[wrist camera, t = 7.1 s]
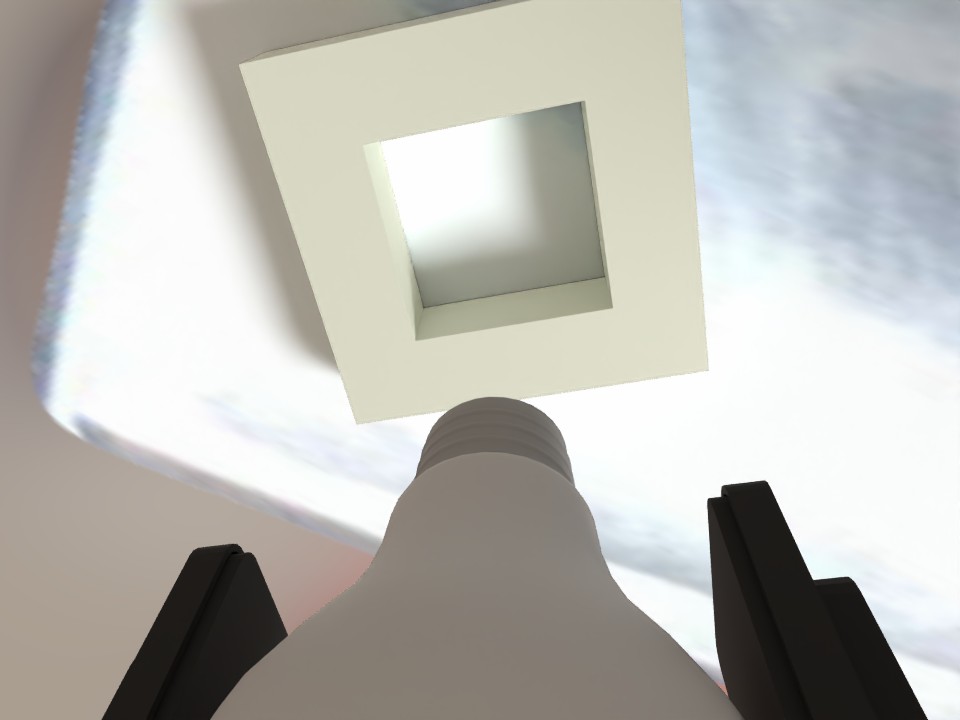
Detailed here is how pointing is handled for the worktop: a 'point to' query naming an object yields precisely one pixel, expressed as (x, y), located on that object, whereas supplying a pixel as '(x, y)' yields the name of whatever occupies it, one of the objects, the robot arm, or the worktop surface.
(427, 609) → the lightbulb
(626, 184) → the socket block
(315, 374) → the worktop surface
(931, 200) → the worktop surface
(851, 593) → the robot arm
